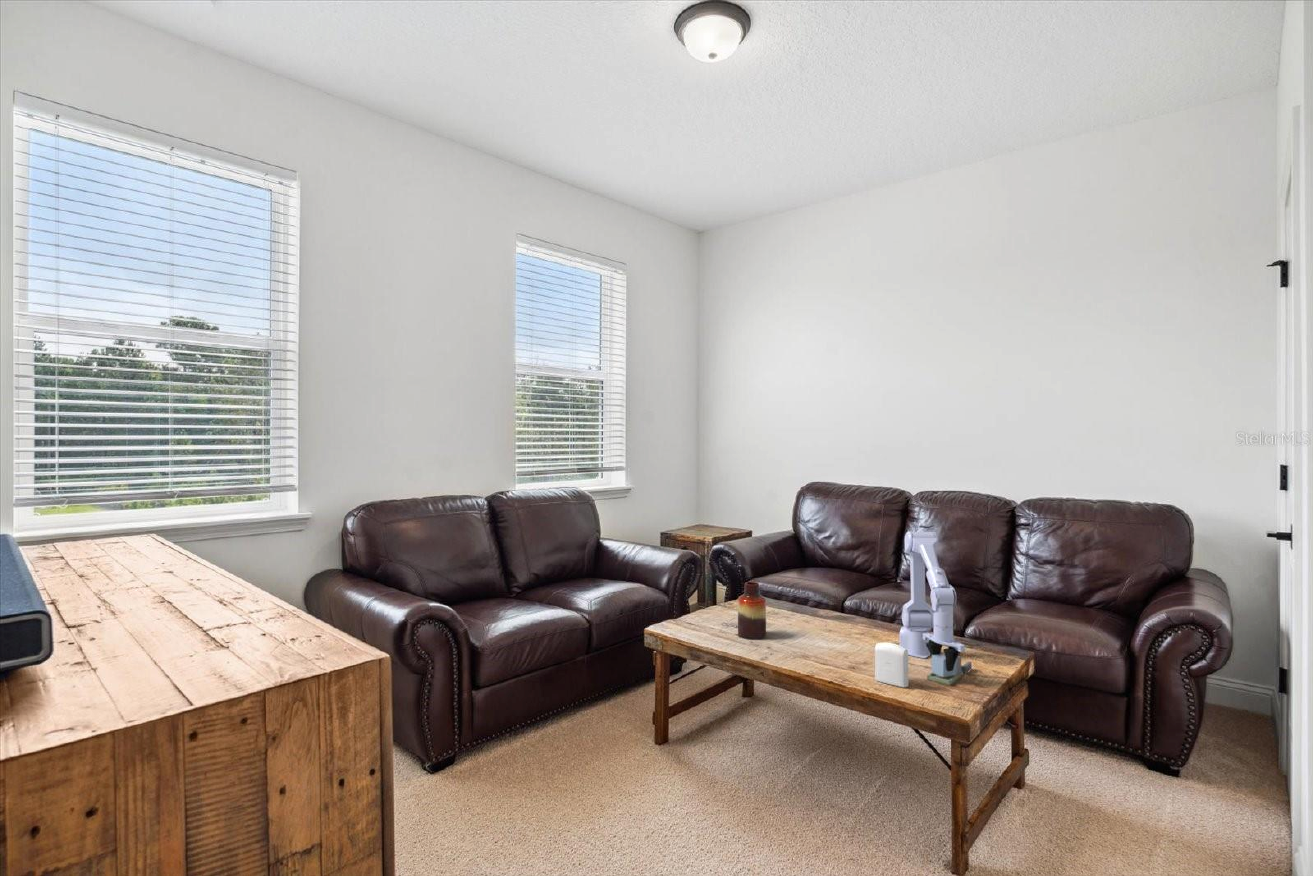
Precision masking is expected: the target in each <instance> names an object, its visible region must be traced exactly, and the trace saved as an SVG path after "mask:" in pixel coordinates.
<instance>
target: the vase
mask: <svg viewBox="0 0 1313 876" xmlns="http://www.w3.org/2000/svg"><path fill="white" fill-rule="evenodd" d="M760 592H761V591H760V584H759V582H757V581H746V582H745V583H744V593H743V594H742V595H740V596H738V597H737V636H738V637H739V636H740V637H739V638H741V637H742V638H741V639H744V640H749V639H750V641H755V640H757V641H758V640H762V638H763V639H765V638H766V637H767V599H766V597H765V596H764V595H761V593H760ZM765 636H766V637H765ZM764 637H765V638H764Z"/></svg>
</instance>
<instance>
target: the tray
mask: <svg viewBox="0 0 1313 876" xmlns="http://www.w3.org/2000/svg"><path fill="white" fill-rule="evenodd" d="M962 676H963V674H962V671H961V673H957V674H956V675H952V676H947V677H942V676H939V675H937V674H934V673H931V672H930V673H928V674H927V676H926V681H929V682H933V683H936V682H938V683H937V684H941V685H945V686H950V687H951V686H952V685H953V684H954V683H956V682H957V681H958V680H959V679H961V677H962ZM958 678H959V679H958ZM957 679H958V680H957ZM956 680H957V681H956ZM953 682H954V683H953Z"/></svg>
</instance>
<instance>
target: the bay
mask: <svg viewBox="0 0 1313 876" xmlns="http://www.w3.org/2000/svg"><path fill="white" fill-rule="evenodd" d="M970 669H971V670H972V661H969V660H968V661H967V662H965V664H963V665H962V664H961V671H962V673H963V674H966V673H967V674H968V673H969V672H970V671H971V670H970ZM969 670H970V671H969ZM968 671H969V672H968ZM963 674H962V675H963ZM967 674H966V675H967Z"/></svg>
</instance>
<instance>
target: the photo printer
mask: <svg viewBox="0 0 1313 876" xmlns="http://www.w3.org/2000/svg"><path fill="white" fill-rule="evenodd" d="M874 679H875V681H876V682H880V683H884V684H888V685H891V686H896V687H900V688H903V689H904V688H908V687H909V655H908V651H907V649H905V648H904V647H902V646H899V644H897V643H893V642H885V641H884V642H877V643H876V644H875V647H874Z"/></svg>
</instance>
